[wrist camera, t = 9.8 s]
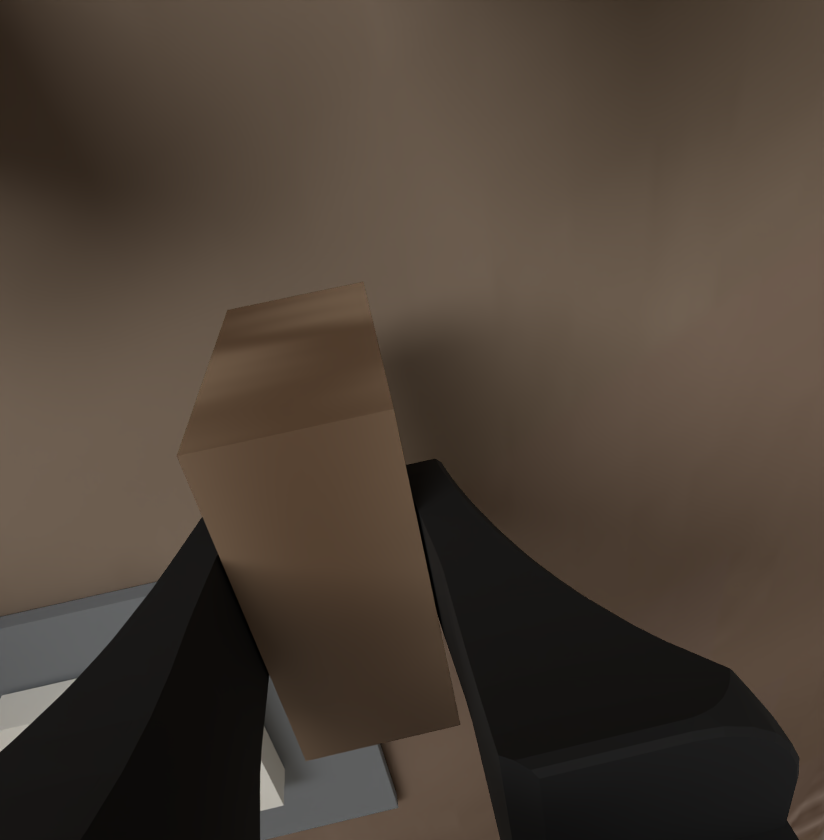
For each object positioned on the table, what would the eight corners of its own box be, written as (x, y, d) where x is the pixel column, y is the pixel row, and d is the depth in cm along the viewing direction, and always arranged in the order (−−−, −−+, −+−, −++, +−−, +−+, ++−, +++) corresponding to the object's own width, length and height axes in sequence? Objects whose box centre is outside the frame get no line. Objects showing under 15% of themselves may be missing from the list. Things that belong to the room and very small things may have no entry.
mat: (61, 875, 30) (57, 889, 29) (-150, 650, 22) (-161, 665, 21) (396, 794, 30) (398, 807, 30) (315, 546, 22) (315, 558, 22)
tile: (3, 691, 23) (97, 810, 27) (-17, 734, 21) (86, 852, 25) (225, 641, 23) (284, 766, 27) (220, 679, 22) (283, 805, 26)
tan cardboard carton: (307, 552, 17) (305, 760, 12) (227, 309, 14) (176, 456, 9) (416, 528, 17) (460, 725, 12) (363, 281, 14) (393, 409, 9)
